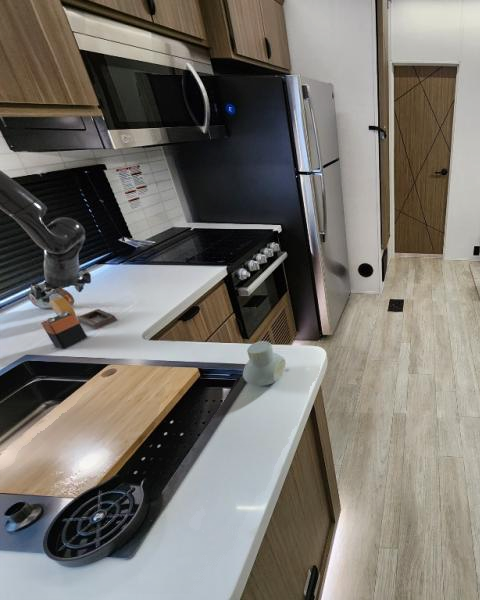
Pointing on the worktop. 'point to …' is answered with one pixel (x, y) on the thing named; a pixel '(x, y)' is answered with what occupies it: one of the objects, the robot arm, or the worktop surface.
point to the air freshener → (263, 364)
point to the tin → (45, 305)
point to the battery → (64, 330)
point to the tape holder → (86, 320)
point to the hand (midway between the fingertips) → (62, 295)
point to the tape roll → (61, 306)
